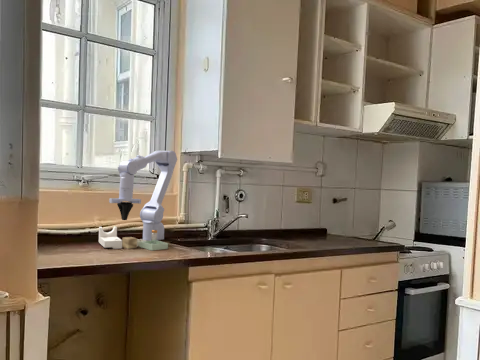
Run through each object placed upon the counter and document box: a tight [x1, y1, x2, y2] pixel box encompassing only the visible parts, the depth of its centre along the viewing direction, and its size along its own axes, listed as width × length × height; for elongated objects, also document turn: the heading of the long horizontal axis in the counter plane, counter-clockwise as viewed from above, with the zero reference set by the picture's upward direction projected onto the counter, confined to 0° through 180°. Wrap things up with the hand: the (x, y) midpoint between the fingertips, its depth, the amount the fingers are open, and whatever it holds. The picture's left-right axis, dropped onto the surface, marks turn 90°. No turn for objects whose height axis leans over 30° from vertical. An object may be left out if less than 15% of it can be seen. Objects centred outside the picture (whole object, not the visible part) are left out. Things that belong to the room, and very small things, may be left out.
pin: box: [151, 230, 157, 244], centre depth 194 cm, size 2×2×7 cm
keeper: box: [137, 238, 148, 247], centre depth 199 cm, size 5×5×2 cm
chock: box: [121, 236, 138, 250], centre depth 193 cm, size 4×5×4 cm
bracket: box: [98, 225, 123, 250], centre depth 194 cm, size 13×7×8 cm, turn 27°
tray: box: [139, 240, 169, 251], centre depth 194 cm, size 8×9×2 cm
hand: (124, 219), depth 200 cm, fingers closed
